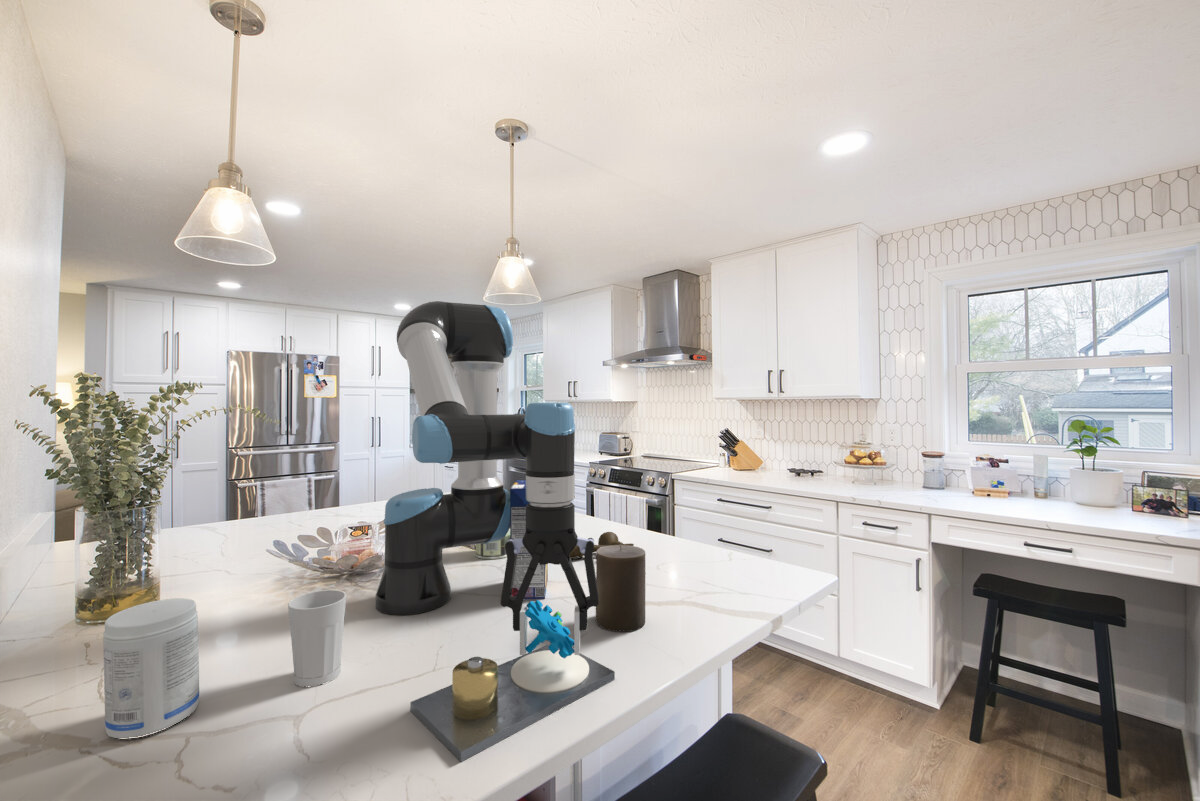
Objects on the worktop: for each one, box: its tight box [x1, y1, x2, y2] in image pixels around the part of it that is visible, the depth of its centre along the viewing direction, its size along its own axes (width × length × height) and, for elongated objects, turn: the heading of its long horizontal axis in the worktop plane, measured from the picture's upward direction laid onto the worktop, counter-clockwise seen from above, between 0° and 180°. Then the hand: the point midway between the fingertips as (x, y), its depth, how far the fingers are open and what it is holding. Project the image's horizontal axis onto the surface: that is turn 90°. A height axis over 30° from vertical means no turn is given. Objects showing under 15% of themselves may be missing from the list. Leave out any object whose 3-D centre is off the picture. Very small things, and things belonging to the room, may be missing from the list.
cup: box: [287, 589, 347, 688], centre depth 80 cm, size 8×8×12 cm
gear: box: [525, 599, 575, 658], centre depth 79 cm, size 11×6×10 cm
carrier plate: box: [409, 643, 616, 763], centre depth 74 cm, size 26×14×7 cm, turn 134°
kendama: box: [569, 531, 635, 559], centre depth 141 cm, size 6×10×20 cm
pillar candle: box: [595, 544, 646, 632], centre depth 99 cm, size 10×10×15 cm
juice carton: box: [509, 479, 549, 600], centre depth 116 cm, size 12×8×24 cm, turn 3°
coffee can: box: [475, 528, 510, 560], centre depth 144 cm, size 10×10×14 cm
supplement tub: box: [102, 597, 200, 739], centre depth 69 cm, size 10×10×15 cm
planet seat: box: [511, 650, 589, 693], centre depth 79 cm, size 12×12×1 cm
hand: (550, 650), depth 79 cm, fingers closed on gear, 8 cm apart
